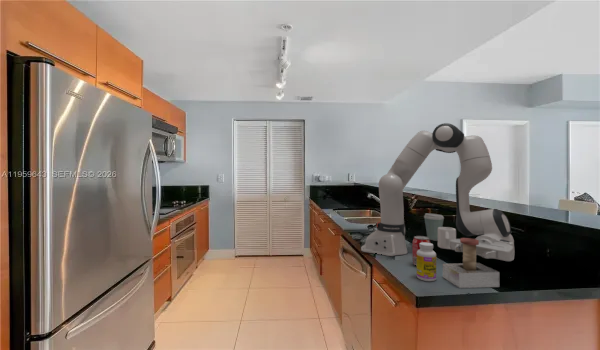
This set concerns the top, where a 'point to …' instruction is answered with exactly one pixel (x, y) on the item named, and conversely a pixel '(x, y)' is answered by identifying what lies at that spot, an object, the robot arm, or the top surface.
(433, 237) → the disposable coffee cup
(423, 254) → the supplement bottle
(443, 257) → the top surface
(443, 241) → the mug
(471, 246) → the wooden pin
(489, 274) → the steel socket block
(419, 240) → the soda can
